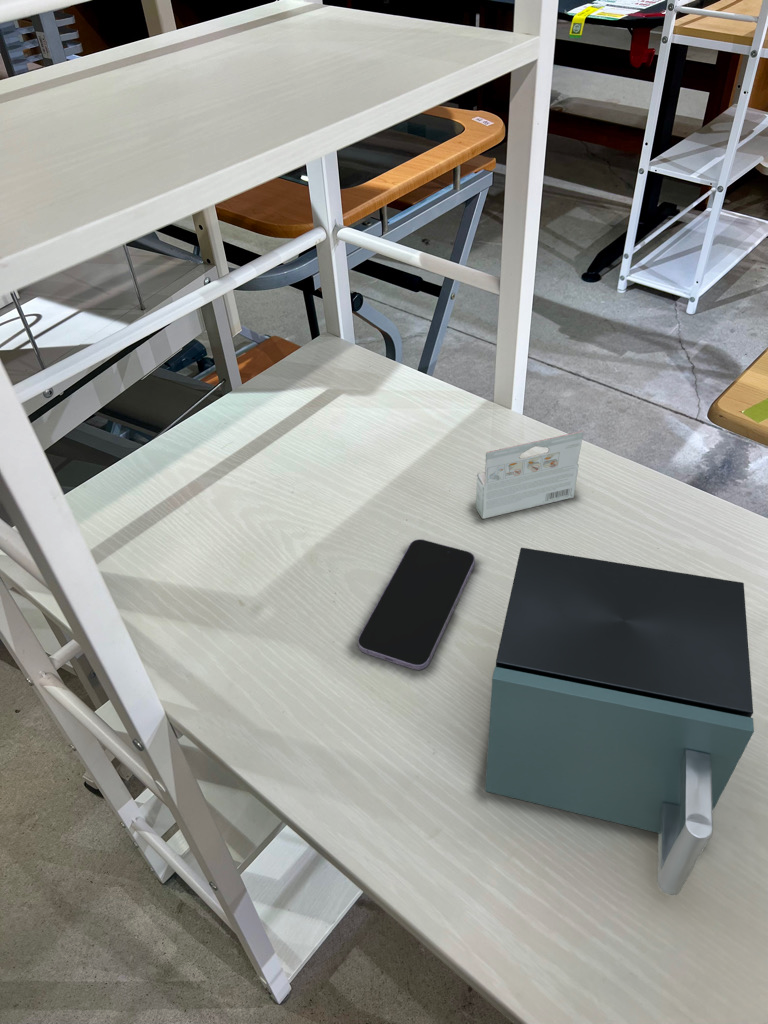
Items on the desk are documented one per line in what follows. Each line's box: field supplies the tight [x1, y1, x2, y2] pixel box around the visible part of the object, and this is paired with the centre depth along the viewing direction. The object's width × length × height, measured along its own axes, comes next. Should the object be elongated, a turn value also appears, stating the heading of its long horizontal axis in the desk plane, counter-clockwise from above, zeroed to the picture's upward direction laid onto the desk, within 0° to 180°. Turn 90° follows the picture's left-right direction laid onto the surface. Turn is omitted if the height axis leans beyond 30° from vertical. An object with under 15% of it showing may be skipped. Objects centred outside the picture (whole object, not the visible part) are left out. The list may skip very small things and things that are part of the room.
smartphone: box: [357, 538, 476, 671], centre depth 74 cm, size 7×1×15 cm
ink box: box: [475, 430, 585, 519], centre depth 81 cm, size 2×11×10 cm, turn 105°
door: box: [484, 666, 755, 897], centre depth 51 cm, size 7×16×16 cm, turn 74°
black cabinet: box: [495, 547, 754, 718], centre depth 57 cm, size 11×16×16 cm
